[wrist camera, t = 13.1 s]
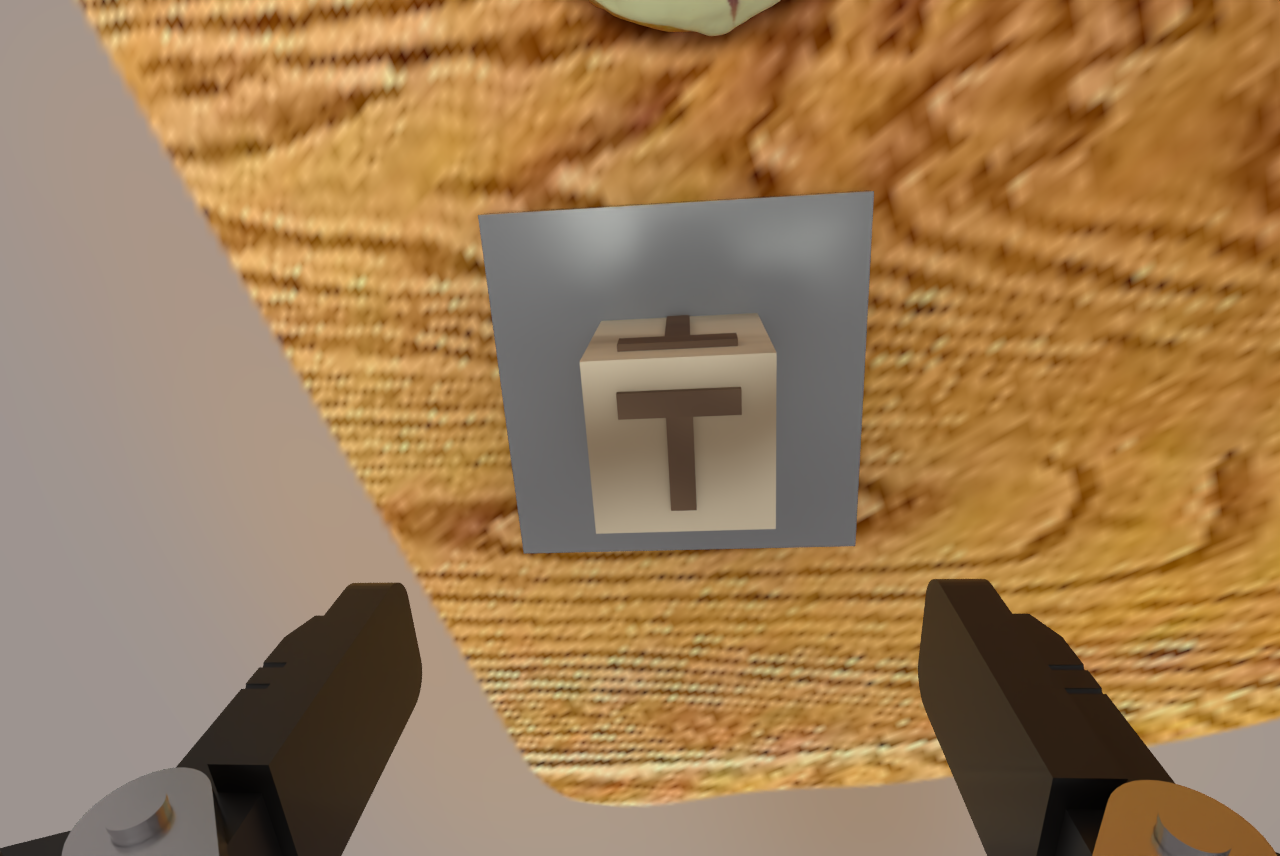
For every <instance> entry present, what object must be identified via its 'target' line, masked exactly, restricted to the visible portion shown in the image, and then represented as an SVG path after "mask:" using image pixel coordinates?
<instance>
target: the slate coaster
mask: <svg viewBox="0 0 1280 856" xmlns="http://www.w3.org/2000/svg"><path fill="white" fill-rule="evenodd" d="M873 200H874V191H854V192H837V193H821V194H804V195H788V196H771V197H755V198H738V199H722V200H705V201H688V202H672V203H655V204H639V205H622V206H606V207H589V208H573V209H556V210H540V211H523V212H507V213H490V214H481V215H478V219H479V226H480V234H481V241H482V248H483V256H484V263H485V270H486V278H487V285H488V293H489V300H490V307H491V315H492V322H493V330H494V337H495V344H496V352H497V359H498V366H499V374H500V381H501V389H502V396H503V403H504V411H505V418H506V425H507V433H508V440H509V448H510V455H511V462H512V470H513V477H514V484H515V492H516V499H517V507H518V514H519V521H520V529H521V536H522V543H523V551H524V553H563V552H608V551H653V550H698V549H743V548H789V547H834V546H855V540H856V521H857V503H858V484H859V465H860V446H861V427H862V408H863V389H864V370H865V351H866V333H867V314H868V295H869V276H870V257H871V238H872V219H873ZM748 313H758V315H759V317H760V319H761V321H762V324H763V326H764V328H765V330H766V332H767V334H768V336H769V338H770V340H771V342H772V344H773V346H774V348H775V350H776V353H777V371H776V529H757V530H719V531H681V532H644V533H606V534H596V528H595V517H594V507H593V497H592V486H591V476H590V465H589V455H588V445H587V434H586V424H585V414H584V403H583V393H582V382H581V372H580V360H581V358H582V356H583V354H584V352H585V351H586V349H587V347H588V345H589V343H590V341H591V339H592V337H593V336H594V334H595V332H596V330H597V328H598V326H599V324H600V322H601V321H610V320H629V319H649V318H667V316H680V315H690V316H709V315H728V314H748Z"/></svg>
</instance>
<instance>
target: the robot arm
mask: <svg viewBox="0 0 1280 856" xmlns="http://www.w3.org/2000/svg"><path fill="white" fill-rule="evenodd" d="M918 679H919V687H920V693H921V698H922V702H923V705H924V708H925V710H926V713H927V715H928V718H929V720H930V722H931V725H932V727H933V729H934V732H935V734H936V736H937V739H938V741H939V743H940V746H941V748H942V750H943V753H944V755H945V757H946V760H947V762H948V765H949V767H950V769H951V772H952V774H953V776H954V779H955V781H956V783H957V785H958V788H959V790H960V793H961V795H962V797H963V800H964V802H965V804H966V807H967V809H968V812H969V814H970V816H971V819H972V821H973V823H974V826H975V828H976V830H977V833H978V835H979V837H980V840H981V842H982V845H983V847H984V849H985V852H986V854H987V856H1280V854H1279V853H1276V852H1275V851H1274V850H1273V848H1272V847H1271V845H1270V844H1269V843H1268V842H1267V840H1266V839H1265V838H1264V837H1263V836H1262V835H1261V834H1260V833H1259V832H1258V831H1257V830H1256V829H1255V828H1254V827H1253V826H1252V825H1251V824H1250V823H1249V822H1247V821H1246V820H1245V819H1244V818H1243V817H1241V816H1240V815H1239V814H1237V813H1235V812H1234V811H1233V810H1231V809H1230V808H1228V807H1227V806H1225V805H1224V804H1222V803H1220V802H1218V801H1217V800H1215V799H1213V798H1211V797H1209V796H1207V795H1205V794H1202V793H1200V792H1198V791H1195V790H1192V789H1190V788H1187V787H1184V786H1181V785H1177V784H1175V783H1174V781H1173V780H1172V779H1171V777H1170V776H1169V775H1168V774H1167V772H1166V771H1165V770H1164V768H1163V767H1162V766H1161V764H1160V763H1159V762H1158V761H1157V759H1156V758H1155V757H1154V755H1153V754H1152V753H1151V752H1150V750H1149V749H1148V748H1147V746H1146V745H1145V744H1144V742H1143V741H1142V740H1141V739H1140V737H1139V736H1138V735H1137V733H1136V732H1135V731H1134V729H1133V728H1132V727H1131V726H1130V724H1129V723H1128V722H1127V720H1126V719H1125V718H1124V716H1123V715H1122V714H1121V713H1120V711H1119V710H1118V709H1117V707H1116V706H1115V705H1114V704H1113V702H1112V701H1111V700H1110V698H1109V697H1108V696H1107V694H1103V693H1102V688H1101V687H1100V685H1099V684H1098V683H1097V682H1096V680H1095V679H1094V678H1093V676H1092V675H1091V674H1090V672H1089V671H1088V670H1084V666H1083V663H1082V662H1081V661H1080V659H1079V658H1078V657H1077V656H1076V654H1075V653H1074V652H1073V650H1072V649H1071V648H1070V647H1069V645H1068V644H1067V643H1066V641H1065V640H1064V639H1063V637H1061V636H1060V635H1059V634H1057V633H1056V632H1054V631H1053V630H1051V629H1050V628H1049V627H1047V626H1046V625H1044V624H1043V623H1041V622H1040V621H1039V620H1037V619H1036V618H1034V617H1033V616H1031V615H1030V614H1012V613H1011V611H1010V610H1009V609H1008V607H1007V606H1006V604H1005V603H1004V602H1003V600H1002V599H1001V597H1000V596H999V594H998V593H997V592H996V590H995V589H994V587H993V586H992V585H991V583H990V582H989V581H988V580H986V579H933V580H931V581H930V582H929V584H928V587H927V591H926V599H925V608H924V617H923V626H922V634H921V643H920V652H919V661H918ZM421 682H422V663H421V658H420V653H419V648H418V644H417V638H416V633H415V628H414V623H413V619H412V613H411V609H410V604H409V599H408V595H407V591H406V589H405V587H404V586H403V585H402V584H401V583H352V584H350V585H349V586H347V587H346V589H345V590H344V591H343V592H342V593H341V595H340V596H339V597H338V599H337V600H336V601H335V602H334V604H333V605H332V606H331V608H330V609H329V610H328V611H327V613H326V614H325V615H324V616H314V617H313V618H311V619H310V620H309V621H307V622H306V623H304V624H303V625H301V626H300V627H298V628H297V629H296V630H294V631H293V632H291V633H290V634H288V635H287V636H286V637H284V639H283V640H282V641H281V642H280V643H279V644H278V646H277V647H276V648H275V649H274V651H273V652H272V653H271V654H270V656H268V658H267V659H266V660H265V661H264V665H263V668H259V669H258V670H257V671H256V672H255V673H254V674H253V676H252V677H251V678H250V679H249V680H248V682H247V683H246V688H245V689H241V690H240V692H238V694H237V695H236V696H235V697H234V699H233V700H232V701H231V702H230V703H229V704H228V706H227V707H226V708H225V709H224V711H223V712H222V713H221V714H220V716H218V718H217V719H216V720H215V721H214V722H213V724H212V725H211V726H210V728H209V729H208V730H207V731H206V732H205V733H204V734H203V736H202V737H201V738H200V739H199V741H198V742H197V743H196V744H195V745H194V747H193V748H192V749H191V750H190V751H189V752H188V754H187V755H186V756H185V757H184V758H183V760H182V761H181V762H180V763H179V764H178V766H177V767H176V768H170V769H164V770H160V771H156V772H152V773H150V774H147V775H144V776H141V777H139V778H137V779H135V780H133V781H130V782H128V783H126V784H125V785H123V786H121V787H119V788H118V789H116V790H114V791H113V792H111V793H110V794H108V795H107V796H105V797H104V798H103V799H102V800H100V801H99V802H98V803H96V804H95V805H94V806H93V807H92V808H91V809H90V810H89V811H88V812H86V813H85V814H84V815H83V817H82V818H81V819H80V820H79V821H78V822H77V823H76V825H75V826H74V828H73V829H72V830H71V831H68V832H64V833H59V834H55V835H52V836H48V837H43V838H39V839H35V840H31V841H28V842H23V843H19V844H15V845H11V846H7V847H4V848H0V856H341V855H342V853H343V851H344V849H345V847H346V845H347V843H348V841H349V839H350V837H351V835H352V833H353V831H354V829H355V827H356V825H357V823H358V820H359V819H360V816H361V815H362V813H363V811H364V809H365V807H366V804H367V802H368V800H369V798H370V796H371V794H372V792H373V790H374V788H375V786H376V784H377V782H378V780H379V778H380V776H381V774H382V772H383V770H384V768H385V766H386V764H387V762H388V760H389V758H390V756H391V754H392V752H393V750H394V747H395V746H396V744H397V742H398V740H399V737H400V736H401V734H402V732H403V729H404V728H405V725H406V724H407V722H408V719H409V717H410V715H411V713H412V711H413V709H414V707H415V705H416V703H417V700H418V697H419V693H420V688H421Z"/></svg>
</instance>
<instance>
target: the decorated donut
mask: <svg viewBox="0 0 1280 856" xmlns="http://www.w3.org/2000/svg"><path fill="white" fill-rule="evenodd" d="M779 1H781V0H589V2H590V3H591V4H593V5H594V6H596V7H597V8H601V9H604V10H605V11H607V12H609V13H610V14H612V15H613V16H615V17H618V18H620V19H623V20H626V21H629V22H633V23H636V24H639V25H643V26H646V27H650V28H653V29H657V30H662V31H667V32H691V31H695V32H698V33H701V34H704V35H707V36H718V35H723V34H726V33H728V32H730V31H731V30H733V29H734V28H735V27H737V26H739V25H740V24H742V23H744V22H746V21H747V20H748V19H750V18H751V17H753V16H755V15H756V14H758V13H760V12H762V11H764V10H766V9H768V8H770V7H772V6H773V5H775V4H776V3H778V2H779Z"/></svg>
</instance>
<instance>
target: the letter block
mask: <svg viewBox="0 0 1280 856" xmlns="http://www.w3.org/2000/svg"><path fill="white" fill-rule="evenodd" d="M776 371H777V353H776V350H775V348H774V346H773V344H772V342H771V340H770V338H769V336H768V334H767V332H766V330H765V328H764V326H763V324H762V321H761V319H760V317H759V315H758V313H748V314H728V315H709V316H690V315H680V316H667V318H649V319H629V320H610V321H601V322H600V324H599V326H598V328H597V330H596V332H595V334H594V336H593V337H592V339H591V341H590V343H589V345H588V347H587V349H586V351H585V352H584V354H583V356H582V358H581V360H580V372H581V382H582V393H583V403H584V414H585V424H586V434H587V445H588V455H589V465H590V476H591V486H592V497H593V507H594V517H595V528H596V534H606V533H644V532H681V531H719V530H757V529H776Z"/></svg>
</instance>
